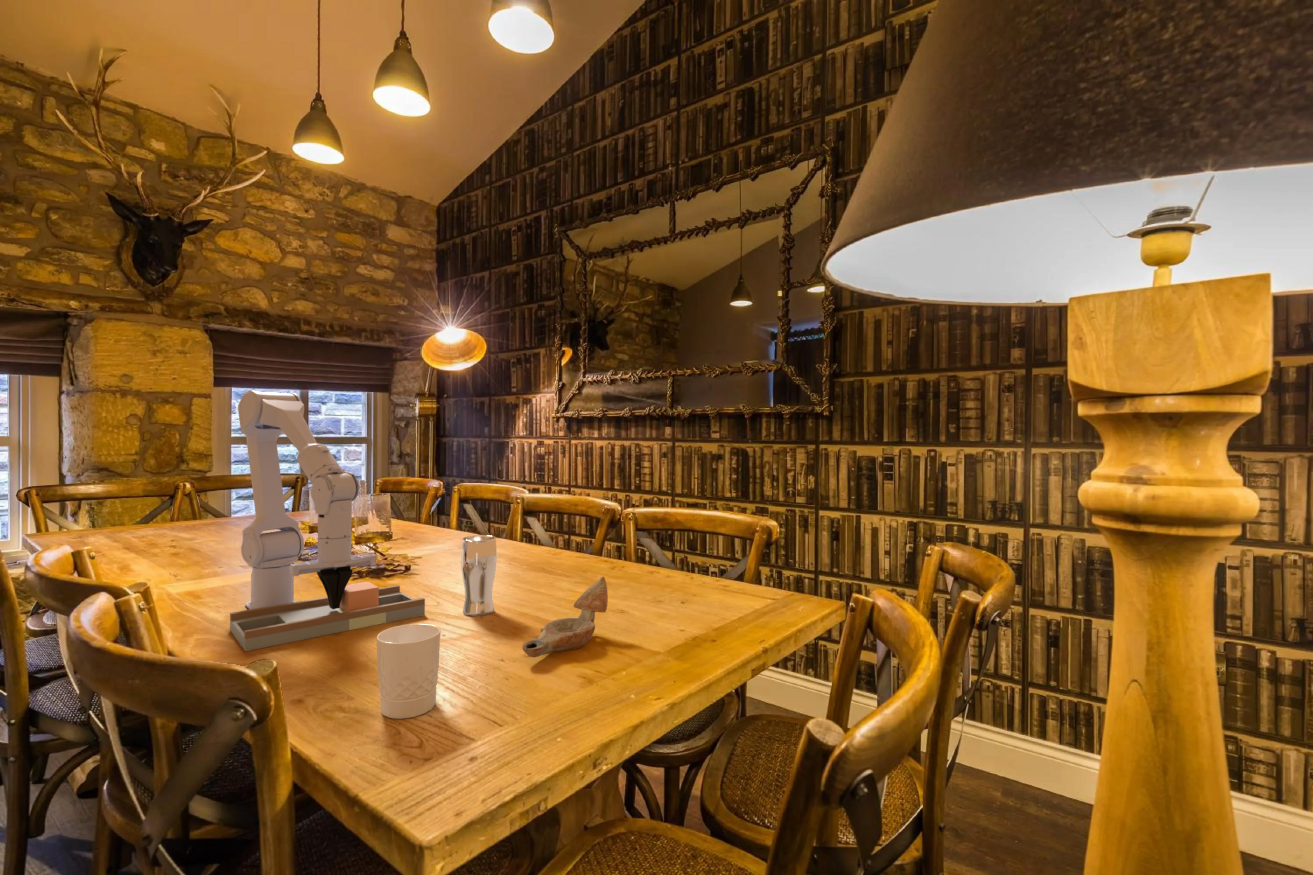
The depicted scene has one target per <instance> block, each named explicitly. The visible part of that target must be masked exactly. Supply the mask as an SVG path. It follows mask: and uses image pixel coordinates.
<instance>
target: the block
mask: <svg viewBox="0 0 1313 875" xmlns="http://www.w3.org/2000/svg"><path fill="white" fill-rule="evenodd" d="M379 588H380V587H379V586H377V585H375V584H374V583H371V582H370V581H364V582H363V581H362V582H357V583H351V584H349V583H348V584H347V585H346V587H345V590H344V592H343V595H342V599H341V603H340V608H341V609H343V610H344V611H346V612H348V611H354V610H359V609H365V608H370V607H375V606H379Z"/></svg>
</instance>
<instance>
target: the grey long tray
mask: <svg viewBox="0 0 1313 875" xmlns="http://www.w3.org/2000/svg"><path fill="white" fill-rule="evenodd" d="M400 590H401V587H400V585H398V584H395V585H391V586H384V587H379V606H375V607H370V608H365V609H359V610H354V611H348V612H346V611H344V610H343V609H341V608H337V609H331V608H330V607H329V601H328V597H327V596H324V597H318V598H312V599H311V598H310V599H306V600H300V601H296V602H293V603H287V604H281V605H275V606H269V607H263V608H257V609H247V610H246V609H245V610H240V611H234V612H232V611H231V612H230V613H229V631H230V632H231V634H232V635H233V636H234V638H235V640H236V641H237V642H238V643H239V645H240V646H241V648H242V649H243V650H244V651H245V652H249V651H254V650H259V649H264V648H268V647H274V646H278V645H283V644H287V643H294V642H299V641H302V640H308V639H313V638H317V637H318V638H319V637H324V636H328V635H332V634H337V633H343V632H347V631H352V630H356V629H362V628H367V627H371V626H372V627H373V626H376V625H383V624H387V623H393V622H396V621H397V622H398V621H400V620H405V619H406V620H407V619H411V618H417V617H421V616H425V614H426V612H425V611H426V610H425V609H426V608H425V607H426V606H425V605H426V604H425V603H426V602H425V601H426V599H425V598H424V597H420V598H413V597H410V596H408V595H407V594H405V593H403V592H401V591H400Z"/></svg>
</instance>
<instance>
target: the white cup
mask: <svg viewBox="0 0 1313 875" xmlns="http://www.w3.org/2000/svg"><path fill="white" fill-rule="evenodd" d="M441 632H442V631H441V628H440V627H438V626H436V625H433V624H428V623H411V624H410V623H409V624H401V625H398V626H392V627H390V628H389V627H388V628H387V629H384V630H381V631H380V632H379V633H378V634H377V635H376V651H377V652H376V653H377V676H378V677H377V678H378V691H379V694H380V696H379V697H380V711H381V714H382V715H383V716H385V717H387V718H389V719H395V720H396V719H398V720H402V719H410V718H415V717H419V716H422V715H424V714H426V713H428V712H429V711H431V710H432V709H433V708H434V707H435V705H436V704H437V685H438V681H439V666H440V650H441V649H440V648H441V644H440V643H441Z"/></svg>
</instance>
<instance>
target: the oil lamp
mask: <svg viewBox="0 0 1313 875" xmlns="http://www.w3.org/2000/svg"><path fill="white" fill-rule="evenodd" d="M608 594H609V593H608V585H607V581H606V577H605V576H600V578H599V579H598V580H597V581H596V582H594V583H593V584H591V585H590V586H589V587H588V588H587V589H585V591H584V592H582V594H581V595H579V597H578V598H577V599H576V600H575V601H574V603H573V608H574V609H577V610H581V611H580V614H579V615H578V617H565V618H558V619H554V620H551V621H549V622H546V623H545V625H544V626H543V627H542V628H540V633H541V634H540V635H539V637H538V638H537V637H536V638H535V637H534V638H532V639H531V640H528V641H525V642H524V643H523V644H522V646H521V648H522V650H523V653H525V655H527V656H528V657H530V658H538V657H540V656H543V655H547V654H550V653H556V652H561V651H569V650H577V649H581V648H582V647H584V646H586V644H588V642H589V641H590V639H591V638H592V637H593V635H594V633H595V630H596V624H595V619H596V618H595V617H596V613H606V612H607V608H608V604H609V603H608V602H609V601H608V598H609V597H608V596H609V595H608Z"/></svg>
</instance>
